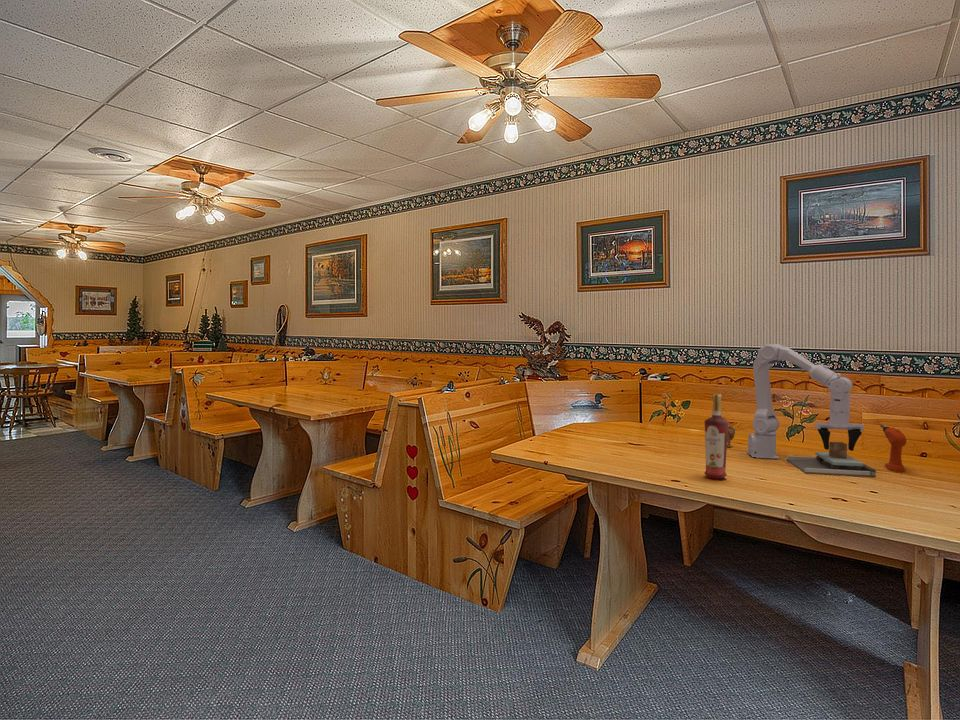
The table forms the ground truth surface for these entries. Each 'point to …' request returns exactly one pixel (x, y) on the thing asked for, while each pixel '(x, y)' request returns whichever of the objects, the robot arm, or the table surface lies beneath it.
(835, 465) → the grey flat slab
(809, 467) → the track
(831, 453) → the block
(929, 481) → the table surface
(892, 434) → the toy drill
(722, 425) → the liquor
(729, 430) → the lion figurine
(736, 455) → the table surface
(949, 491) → the table surface
